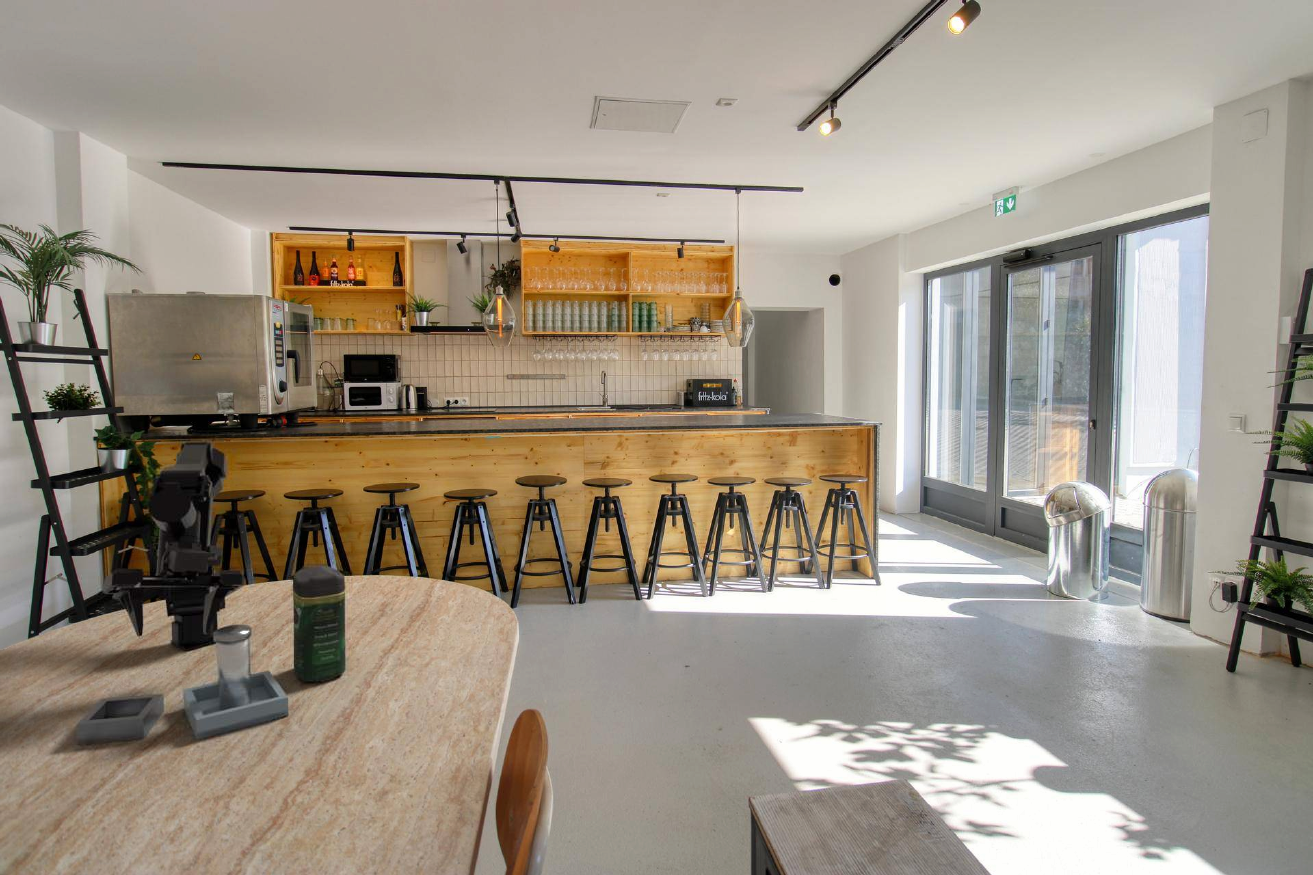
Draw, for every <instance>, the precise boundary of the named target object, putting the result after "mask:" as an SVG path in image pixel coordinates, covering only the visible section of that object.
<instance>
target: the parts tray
mask: <svg viewBox="0 0 1313 875" xmlns="http://www.w3.org/2000/svg"><path fill="white" fill-rule="evenodd" d="M251 687H252V704H248V705H243V706H239V707H235V708H231V709H227V710H223V711H220V710H219V692H218V681H216V682H211V683H207V684H203V685H197V686H194V687H190V688H184V689H182V690H183V692H182V693H183V698H182V699H183V709H184V711H185V714H186V716H187V719H188V722H189V725H190V727H191V729H192V731H193V734H194V737H195V739H196V740H197V741H199V740H203V739H206V738H210V737H213V736H218V735H222V734H225V733H229V732H234V731H237V730H241V729H244V728H248V727H252V726H253V727H254V726H256V725H259V724H258V723H260V724H264V723H266V721H268V722H270V720H272V721H274V720H273V719H275V720H278V719H277V718H279V719H282V718H281V717H283V718H285V717H284V716H287V717H289V696H288V695H287V694H286V692H285V691H284V690H283V688H282V687H281V685H280V684H279V683H278V681H277V680H276V679H275V677H274V676H273V675H272V672H271V671H270V670H265V671H260V672H256V673H251Z"/></svg>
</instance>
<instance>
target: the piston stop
mask: <svg viewBox="0 0 1313 875" xmlns="http://www.w3.org/2000/svg"><path fill="white" fill-rule="evenodd" d="M213 635H214V641H215V645H216V646H215V647H216V667H217V668H216V670H217V682H218V692H219V710H220V711H223V710H227V709H231V708H235V707H239V706H243V705H248V704H252V687H251V674H252V666H251V665H252V664H251V645H250V644H251V643H250V642H251V641H250V637H251V636H252V627H251V626H250V625H247V624H230V625H227V626H224V627H223V626H222V627H220V628H218V629H217V630H216V631H215V632H214V633H213Z"/></svg>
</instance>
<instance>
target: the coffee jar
mask: <svg viewBox="0 0 1313 875" xmlns="http://www.w3.org/2000/svg"><path fill="white" fill-rule="evenodd" d="M292 599H293V600H292V601H293V602H292V604H293V606H292V607H293V670H294V673H295V675H296V676H297V677H298V679H300V681H302V682H318V681H321V682H324V681H323V680H327V681H329V680H328V679H330V680H332V679H334V678H337V677H338V675H339V676H341V675H343V674H344V672H345V671H346V665H347V664H346V663H347V661H346V658H347V657H346V582H345V576H344V575H343V573H342V572H340V571H339V570H338V569H336V568H333V567H331V566H328V565H327V564H317V565H308V566H302V567H301V569H299V570H298V571H296V572H295V573H294V575H293V578H292ZM342 673H343V674H342ZM331 678H332V679H331Z"/></svg>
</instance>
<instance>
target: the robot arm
mask: <svg viewBox="0 0 1313 875" xmlns="http://www.w3.org/2000/svg"><path fill="white" fill-rule="evenodd" d="M227 478H228V462H227V457H226V454H225V453H224V452H222V451H220V450H219V449H217V448H215V447H214V446H213V442H209V441H206V440H205V441H186V442H181V445H180V451H179V452H178V453H177V454H176V460H175V463H174V465H169V466H166V467H164V468H163V469H162V470H161V471H160V472H159V475H158V476H155V478H154V479H153V480H154V481H153V484H152V487H151V491H150V493H149V501H148V505H147V507H148V510H147V511H148V512H149V515H150V516H151V518H152V519H153V520H154V522H155V524H156V525H157V527H158V528H159V532H158V533H159V534H158V549H157V550H156V557H157V563H156V573H155V574H153V575H152V574H144V570H143V568H116V569H114V570H113V571H112V572H110V573H109V574H108V575H107V576H106V577H105V578H104V581H103V588H102V594H105V595H112V599H113V600H119V601H120V603H121V604H122V606H123V608H124V610H125V611H126V613H127V615H128V617H129V619H130V622H131V625H132V627H133V629H134V632H135V633H136V636H137V638H138V637H141V636H143V631H144V611H143V610H144V608H143V607H144V602H143V598H144V595H145V594H144V593H145V588H165V590H164V592H165V593H164V597H165V598H164V599H165V600H164V601H165V606H166V607H165V608H166V615H167V617H168V618H169V617H173V621H171V640H170V644H172V645H174V646H176V647H179V648H180V649H182V650H185V651H191V650H193V649H194V650H195V649H198V648H201V647H205V646H209V645H211V644H216V642H215V641H214V635H213V633H214V632H215V631H216V630H217V629H219V628H218V627H219V626H218V613H219V612H221V610H224V609H226V598H227V596H229V595H231V594H233V593H235V592H236V591H238V590H239V589H241V588H242V587H244V585H245V576H244V574H243V572H242V571H241V570H237V569H236V570H234V569H233V570H229V569H226V570H225V569H218V570H217V571H216V569H215V567H219V566H221V564H222V559H223V558H222V557H223V547H222V546H220V545H211V536H212V522H213V521H212V520H213V505H214V499H215V497H216V498H217V496H218V494H219V493H220V492H222V490H223V488H224V479H227Z"/></svg>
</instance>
